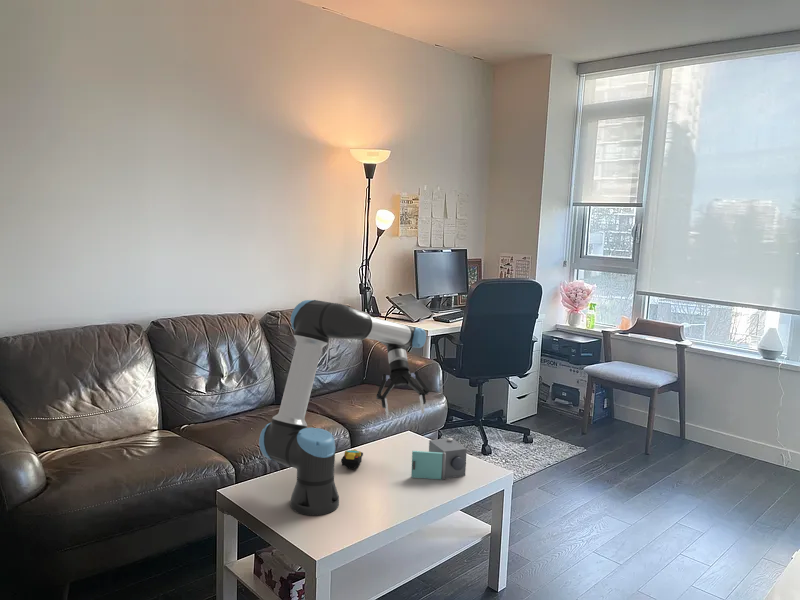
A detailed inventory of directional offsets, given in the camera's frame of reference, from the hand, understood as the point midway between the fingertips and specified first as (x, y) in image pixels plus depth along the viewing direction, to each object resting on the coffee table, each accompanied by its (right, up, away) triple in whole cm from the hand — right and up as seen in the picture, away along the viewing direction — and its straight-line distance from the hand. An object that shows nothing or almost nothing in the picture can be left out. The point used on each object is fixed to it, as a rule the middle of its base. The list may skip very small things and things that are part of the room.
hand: (405, 414), depth 229 cm
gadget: (-20, -18, -4) cm, 27 cm away
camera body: (+15, -20, -6) cm, 25 cm away
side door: (+8, -20, -15) cm, 26 cm away
